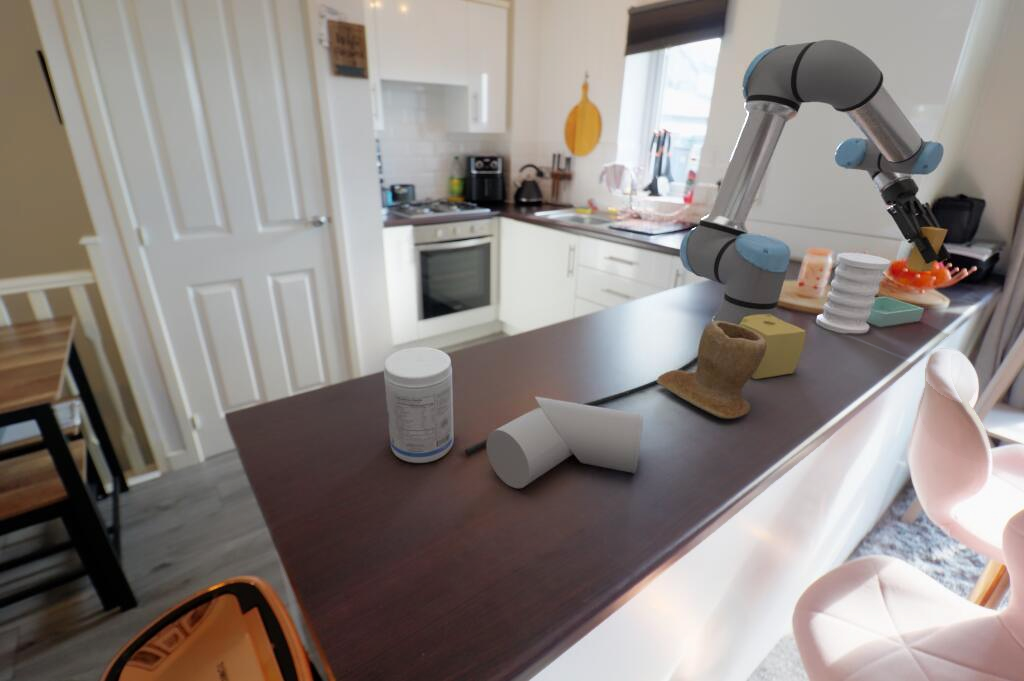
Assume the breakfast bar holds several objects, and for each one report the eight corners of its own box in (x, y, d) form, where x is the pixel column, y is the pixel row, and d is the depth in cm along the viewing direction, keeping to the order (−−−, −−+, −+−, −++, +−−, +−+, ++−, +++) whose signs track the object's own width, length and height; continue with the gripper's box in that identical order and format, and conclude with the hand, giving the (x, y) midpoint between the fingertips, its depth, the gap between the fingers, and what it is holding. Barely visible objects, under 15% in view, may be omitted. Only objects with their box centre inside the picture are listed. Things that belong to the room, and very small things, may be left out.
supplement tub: (395, 428, 77) (388, 346, 71) (454, 426, 78) (452, 345, 72) (386, 468, 68) (377, 377, 62) (453, 465, 69) (451, 376, 63)
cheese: (719, 358, 104) (729, 316, 100) (759, 353, 107) (770, 311, 103) (755, 381, 95) (767, 335, 91) (797, 375, 98) (811, 330, 94)
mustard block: (921, 272, 126) (937, 230, 121) (905, 268, 129) (920, 227, 125) (931, 271, 127) (947, 229, 123) (915, 267, 131) (931, 226, 126)
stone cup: (764, 411, 85) (786, 334, 79) (721, 430, 79) (742, 348, 73) (694, 375, 97) (709, 305, 91) (653, 389, 91) (665, 316, 85)
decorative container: (877, 336, 118) (903, 265, 111) (827, 332, 120) (849, 262, 112) (854, 319, 129) (877, 253, 121) (808, 316, 130) (828, 250, 123)
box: (879, 328, 123) (884, 314, 122) (842, 314, 132) (847, 301, 130) (918, 322, 128) (924, 308, 127) (880, 309, 137) (885, 296, 135)
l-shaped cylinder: (564, 405, 82) (476, 454, 70) (580, 356, 77) (487, 400, 64) (649, 472, 73) (565, 544, 60) (675, 422, 67) (588, 489, 54)
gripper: (903, 194, 137) (944, 265, 130) (861, 195, 132) (901, 270, 124) (930, 176, 130) (975, 250, 123) (887, 177, 125) (931, 254, 118)
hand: (938, 260), depth 124 cm, fingers closed on mustard block, 4 cm apart
